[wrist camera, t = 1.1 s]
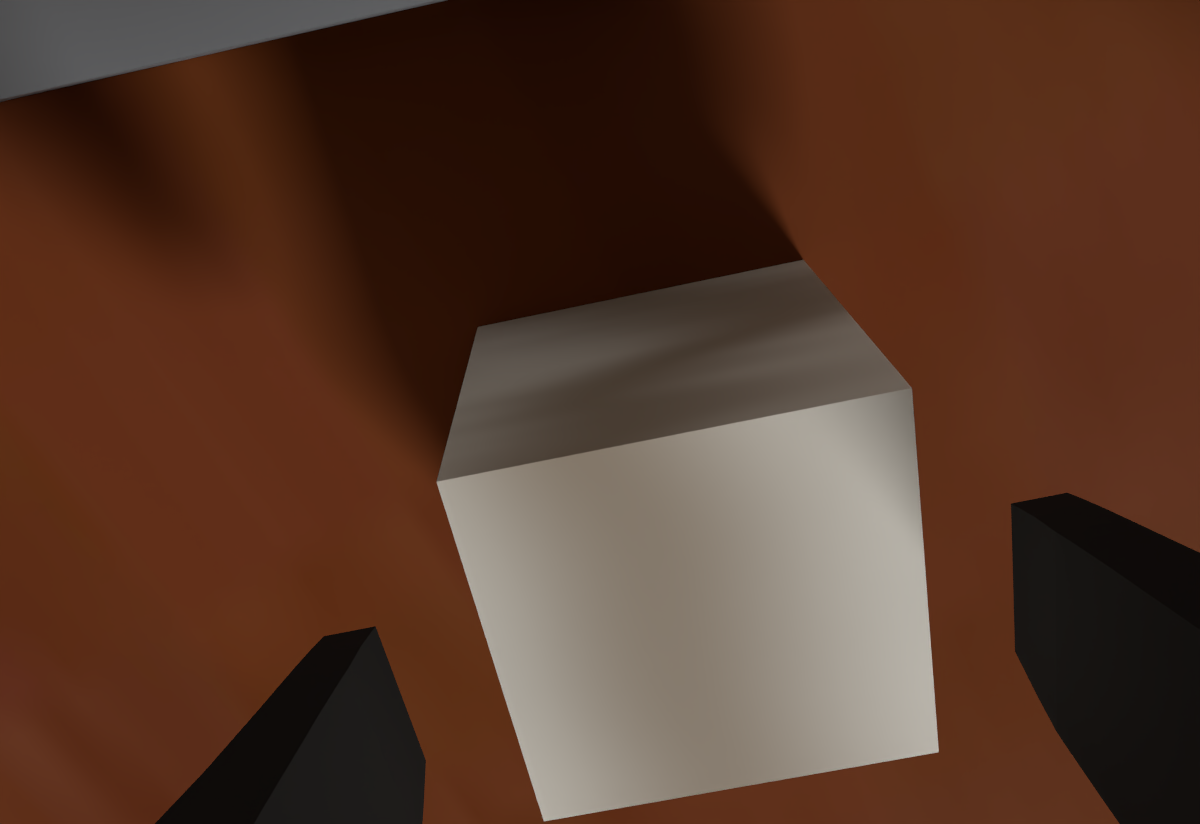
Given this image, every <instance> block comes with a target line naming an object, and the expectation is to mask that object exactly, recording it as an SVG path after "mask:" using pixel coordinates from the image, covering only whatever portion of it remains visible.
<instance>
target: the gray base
mask: <svg viewBox="0 0 1200 824" xmlns="http://www.w3.org/2000/svg"><path fill="white" fill-rule="evenodd" d="M442 1H446V0H0V102H1V101H6V100H10V99H15V98H19V97H23V96H28V95H32V94H37V93H41V92H45V91H50V90H54V89H59V88H63V87H68V86H72V85H76V84H81V83H85V82H90V81H94V80H98V79H103V78H107V77H112V76H116V75H120V74H125V73H129V72H134V71H138V70H142V69H147V68H151V67H156V66H160V65H164V64H169V63H173V62H178V61H182V60H186V59H191V58H195V57H200V56H204V55H208V54H213V53H217V52H222V51H226V50H231V49H235V48H239V47H244V46H248V45H253V44H257V43H261V42H266V41H270V40H275V39H279V38H283V37H288V36H292V35H297V34H301V33H305V32H310V31H314V30H319V29H323V28H327V27H332V26H336V25H341V24H345V23H349V22H354V21H358V20H363V19H367V18H371V17H376V16H380V15H385V14H389V13H394V12H398V11H402V10H407V9H411V8H416V7H420V6H424V5H429V4H433V3H438V2H442Z"/></svg>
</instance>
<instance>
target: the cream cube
mask: <svg viewBox="0 0 1200 824" xmlns="http://www.w3.org/2000/svg"><path fill="white" fill-rule="evenodd" d="M437 485H438V488H439V491H440V494H441V497H442V501H443V504H444V507H445V510H446V513H447V516H448V520H449V523H450V526H451V529H452V532H453V535H454V539H455V542H456V545H457V548H458V551H459V554H460V557H461V561H462V564H463V567H464V570H465V573H466V576H467V580H468V583H469V586H470V589H471V592H472V595H473V599H474V602H475V605H476V608H477V611H478V614H479V618H480V621H481V624H482V627H483V630H484V633H485V636H486V640H487V643H488V646H489V649H490V652H491V655H492V659H493V662H494V665H495V668H496V671H497V674H498V678H499V681H500V684H501V687H502V690H503V693H504V697H505V700H506V703H507V706H508V709H509V712H510V715H511V719H512V722H513V725H514V728H515V731H516V734H517V738H518V741H519V744H520V747H521V750H522V753H523V757H524V760H525V763H526V766H527V769H528V772H529V776H530V779H531V782H532V785H533V788H534V791H535V794H536V798H537V801H538V804H539V807H540V810H541V813H542V817H543V820H544V821H549V820H554V819H560V818H566V817H571V816H577V815H583V814H589V813H594V812H600V811H606V810H611V809H617V808H623V807H628V806H634V805H640V804H646V803H651V802H657V801H663V800H668V799H674V798H680V797H685V796H691V795H697V794H703V793H708V792H714V791H720V790H725V789H731V788H737V787H742V786H748V785H754V784H760V783H765V782H771V781H777V780H782V779H788V778H794V777H800V776H805V775H811V774H817V773H822V772H828V771H834V770H839V769H845V768H851V767H857V766H862V765H868V764H874V763H879V762H885V761H891V760H896V759H902V758H908V757H914V756H919V755H925V754H931V753H936V752H939V750H938V736H937V723H936V709H935V696H934V682H933V669H932V655H931V641H930V628H929V614H928V601H927V587H926V574H925V560H924V547H923V533H922V520H921V506H920V493H919V479H918V466H917V452H916V438H915V425H914V411H913V398H912V388H911V386H910V385H909V384H908V383H907V382H906V381H905V379H904V378H903V377H902V376H901V375H900V373H899V372H898V371H897V370H896V369H895V368H894V366H893V365H892V364H891V363H890V362H889V360H888V359H887V358H886V357H885V356H884V355H883V353H882V352H881V351H880V350H879V349H878V348H877V346H876V345H875V344H874V343H873V342H872V340H871V339H870V338H869V337H868V336H867V335H866V333H865V332H864V331H863V330H862V329H861V327H860V326H859V325H858V324H857V323H856V322H855V320H854V319H853V318H852V317H851V316H850V314H849V313H848V312H847V311H846V310H845V309H844V307H843V306H842V305H841V304H840V303H839V301H838V300H837V299H836V298H835V297H834V296H833V294H832V293H831V292H830V291H829V290H828V288H827V287H826V286H825V285H824V284H823V283H822V281H821V280H820V279H819V278H818V277H817V275H816V274H815V273H814V272H813V271H812V270H811V268H810V267H809V266H808V265H807V264H806V262H805V261H804V260H800V261H795V262H790V263H785V264H780V265H776V266H771V267H766V268H761V269H756V270H751V271H746V272H742V273H737V274H732V275H727V276H722V277H717V278H713V279H708V280H703V281H698V282H693V283H688V284H684V285H679V286H674V287H669V288H664V289H659V290H654V291H650V292H645V293H640V294H635V295H630V296H625V297H621V298H616V299H611V300H606V301H601V302H596V303H592V304H587V305H582V306H577V307H572V308H567V309H562V310H558V311H553V312H548V313H543V314H538V315H533V316H529V317H524V318H519V319H514V320H509V321H504V322H500V323H495V324H490V325H485V326H480V327H478V328H477V331H476V335H475V339H474V343H473V347H472V350H471V354H470V358H469V362H468V365H467V369H466V373H465V377H464V380H463V384H462V388H461V392H460V395H459V399H458V403H457V407H456V410H455V414H454V418H453V422H452V426H451V429H450V433H449V437H448V441H447V444H446V448H445V452H444V456H443V459H442V463H441V467H440V471H439V474H438V478H437Z"/></svg>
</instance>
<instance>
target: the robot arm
mask: <svg viewBox="0 0 1200 824" xmlns="http://www.w3.org/2000/svg"><path fill="white" fill-rule="evenodd" d="M1011 513H1012V551H1013V588H1014V625H1015V652H1016V654H1017V656H1018V658H1019V660H1020V662H1021V664H1022V666H1023V668H1024V670H1025V672H1026V674H1027V676H1028V678H1029V680H1030V682H1031V684H1032V686H1033V688H1034V690H1035V692H1036V694H1037V696H1038V698H1039V699H1040V701H1041V703H1042V705H1043V707H1044V709H1045V711H1046V713H1047V714H1048V716H1049V718H1050V720H1051V722H1052V724H1053V726H1054V728H1055V729H1056V731H1057V733H1058V734H1059V736H1060V737H1061V739H1062V740H1063V742H1064V743H1065V745H1066V746H1067V748H1068V749H1069V751H1070V752H1071V754H1072V755H1073V757H1074V758H1075V760H1076V761H1077V763H1078V764H1079V765H1080V767H1081V768H1082V770H1083V771H1084V773H1085V774H1086V776H1087V777H1088V779H1089V780H1090V782H1091V783H1092V784H1093V786H1094V787H1095V789H1096V790H1097V792H1098V793H1099V795H1100V796H1101V798H1102V799H1103V800H1104V802H1105V803H1106V805H1107V806H1108V808H1109V809H1110V810H1111V812H1112V813H1113V815H1114V816H1115V818H1116V819H1117V821H1118V822H1119V823H1120V824H1200V553H1199V552H1197V551H1195V550H1192V549H1190V548H1188V547H1186V546H1184V545H1182V544H1180V543H1177V542H1175V541H1173V540H1171V539H1169V538H1167V537H1165V536H1162V535H1160V534H1158V533H1156V532H1154V531H1152V530H1150V529H1148V528H1145V527H1143V526H1141V525H1139V524H1137V523H1135V522H1133V521H1131V520H1128V519H1126V518H1124V517H1122V516H1120V515H1118V514H1115V513H1113V512H1111V511H1109V510H1107V509H1105V508H1102V507H1100V506H1098V505H1096V504H1093V503H1091V502H1089V501H1086V500H1084V499H1082V498H1079V497H1077V496H1074V495H1072V494H1069V493H1064V494H1059V495H1054V496H1048V497H1043V498H1038V499H1033V500H1028V501H1023V502H1017V503H1012V504H1011ZM425 763H426V760H425V757H424V755H423V752H422V749H421V747H420V744H419V741H418V739H417V736H416V733H415V731H414V728H413V725H412V723H411V720H410V717H409V715H408V712H407V709H406V707H405V704H404V702H403V699H402V696H401V694H400V691H399V688H398V686H397V683H396V680H395V678H394V675H393V672H392V670H391V667H390V664H389V662H388V659H387V656H386V654H385V651H384V648H383V646H382V643H381V640H380V638H379V635H378V632H377V630H376V627H370V628H365V629H360V630H355V631H350V632H344V633H339V634H334V635H329V636H324V637H323V638H322V639H321V640H320V641H319V642H318V643H317V644H316V645H315V646H314V647H313V648H312V649H311V650H310V651H309V653H308V654H307V655H306V656H305V657H304V658H303V659H302V660H301V661H300V663H299V664H298V665H297V666H296V667H295V668H294V669H293V671H292V672H291V673H290V674H289V675H288V676H287V677H286V679H285V680H284V681H283V682H282V683H281V684H280V686H279V687H278V688H277V689H276V690H275V691H274V693H273V694H272V695H271V696H270V697H269V698H268V700H267V701H266V702H265V703H264V704H263V705H262V707H261V708H260V709H259V710H258V711H257V712H256V714H255V715H254V716H253V717H252V718H251V719H250V720H249V722H248V723H247V724H246V725H245V726H244V727H243V728H242V729H241V731H240V732H239V733H238V734H237V735H236V736H235V737H234V739H233V740H232V741H231V742H230V743H229V744H228V745H227V747H226V748H225V749H224V750H223V751H222V752H221V753H220V755H219V756H218V757H217V758H216V759H215V760H214V761H213V763H212V764H211V765H210V766H209V767H208V768H207V769H206V770H205V772H204V773H203V774H202V775H201V776H200V777H199V778H198V779H197V780H196V781H195V782H194V783H193V784H192V785H191V786H190V787H189V788H188V790H187V791H186V792H185V793H184V794H183V795H182V796H181V797H180V798H179V799H178V800H177V801H176V802H175V803H174V804H173V805H172V806H171V807H170V808H169V810H168V811H167V812H166V813H165V814H164V815H163V816H162V817H161V818H160V819H159V820H158V821H157V822H156V823H155V824H422V820H423V805H424V784H425Z"/></svg>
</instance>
